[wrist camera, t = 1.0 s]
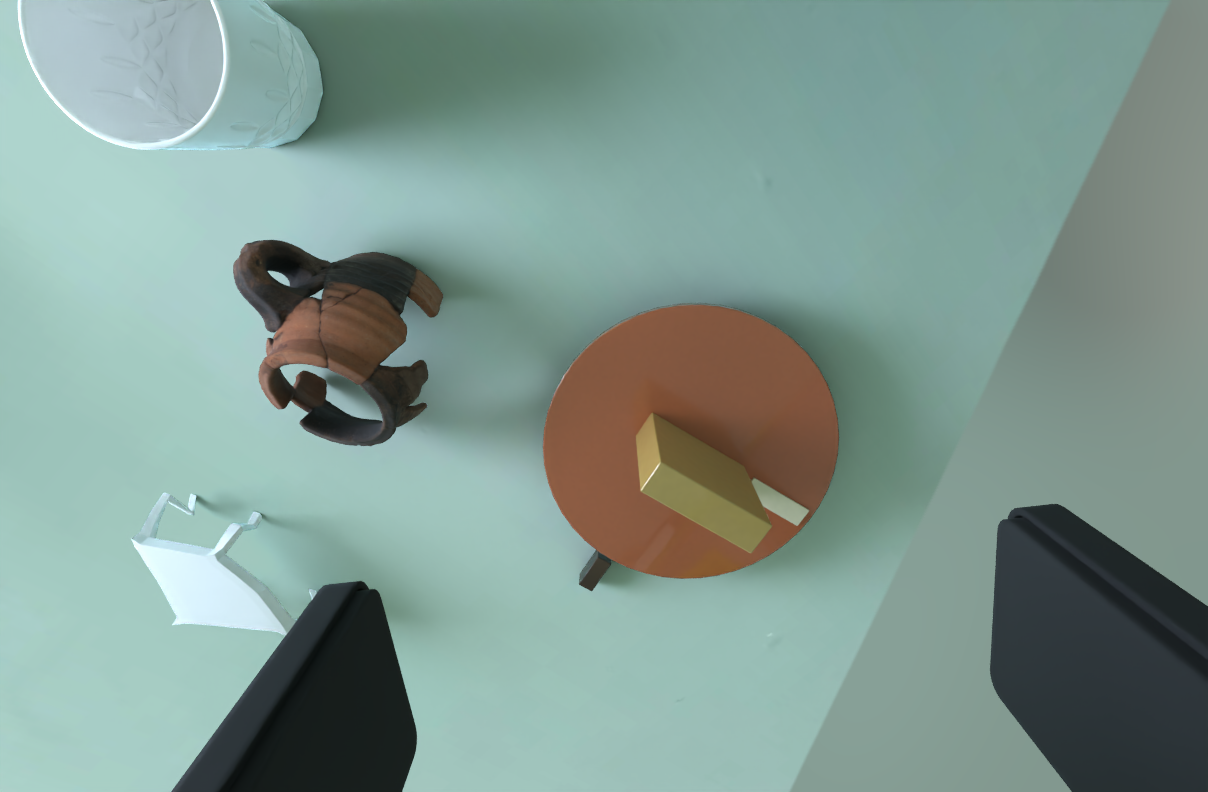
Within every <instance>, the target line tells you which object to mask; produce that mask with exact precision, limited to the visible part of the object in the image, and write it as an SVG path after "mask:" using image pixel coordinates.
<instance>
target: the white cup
mask: <svg viewBox="0 0 1208 792" xmlns="http://www.w3.org/2000/svg"><path fill="white" fill-rule="evenodd" d="M18 18H19V26H20V32H21V37H22V41H23V44H24V48H25V51H26V53H27V56H28V59H29V61H30V63H31V66H32V68H33V70H34V72H35V74H36V76H37V77H38V79H39V81H40V82H41V84H42V86H43V87H44V89H45V90H46V91H47V93H48V94H49V95H50V97H51V98H52V99H53V100H54V102H55V103H56V104H57V105H58V106H59V107H60V108H61V109H62V110H63V111H64V112H65V113H66V114H67V115H68V116H69V117H70V118H71V119H72V120H74V121H75V122H76V123H77V124H79V125H80V126H81V127H83V128H84V129H86V130H87V131H89V132H90V133H92V134H94V135H96V136H98V137H100V138H102V139H104V140H106V141H108V142H111V143H114V144H117V145H120V146H124V147H128V148H134V149H144V150H227V149H247V148H255V147H259V148H272V147H275V146H278V145H281V144H285V143H288V142H291V141H295V140H297V139H298V138H299V137H300V136H301V135H302V134H303V133H304V132H305V131H306V130H307V128H308V127H309V126H310V125H311V124H312V123H313V122H314V121H315V120H316V116H317V113H318V109H319V105H320V102H321V98H322V94H323V86H322V80H321V73H320V67H319V61H318V58H317V56H316V55H315V53H314V51H313V50H312V48H311V46H310V45H309V43H308V41H307V40H306V38H305V36H304V35H303V33H302V31H301V30H300V29H299V28H297V27H296V26H295V25H293V24H292V23H291V22H289V21H288V20H287V19H285V18H284V17H283V16H281V15H280V14H279V13H277V12H276V11H275V10H273V9H271V8H270V7H269V6H268V5H267V4H266V3H265V2H264V1H262V0H18Z"/></svg>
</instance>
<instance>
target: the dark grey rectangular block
mask: <svg viewBox="0 0 1208 792" xmlns="http://www.w3.org/2000/svg"><path fill="white" fill-rule="evenodd" d="M610 565H611V559H610V558H608V557H607V556H605V555H603V554H602V553H600V552H599V551H597V550H596V552H595V553H594V554H593V556H592V557H591V559H590V560H589V562H588V563H587V565H586V566H585V567H584V569H583V570H582V572H581V573H580V579H579V585H581V586H583V587H585V588H587V589H588V590H590V591H592V590H593V589H594V588H595V586H596V585H597V583H598V582H599V581H600V579H601V578H602V576H603V575H604V574H605V572H606V571H607V569H608V568H609V566H610Z"/></svg>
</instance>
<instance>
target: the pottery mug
mask: <svg viewBox="0 0 1208 792" xmlns="http://www.w3.org/2000/svg"><path fill="white" fill-rule="evenodd" d="M267 271H275V272H279V273H282V274H283V275H285V276H286V277H287V278H288V280H289V282H290V287H289V286H286V285H283V284H281V283H280V282H278V281H277V280H275V279H274V278H273V277H272V276H270V274H269V273H268V272H267ZM233 273H234V279H235V283H236V286H237V288H238V290H239V291H240V293H241V294H242V295H243V297H244V298H245V299H246V300H247V301H248V302H249V303H250V304H251V305H252V306H253V307H254V308H255V309H256V310H257V311H258V312H259V314H260V315H261V316H262V318H263V320H264V322H265V326H266V329H267V330H268V331H270V332H276V331H277V332H276V334H275V335H274V337H273V339H272V338H268V339H267V343H266V353H267V357H265V358H264V360H263V362H262V364H261V365H260V370H259V382H260V384H261V387H262V390H263V391H264V393H265V395H266V397H267V398H268V399H269V401H270V402H271V403H272V404H273V405H274V406H275V407H276V408H277V409H284V408H285V407H286V406H287V405H288V403H289V402H290V400H291V401H292V402H293V403H294V404H295V405H297V406H298V407H300V408H302V409H303V410H305V411H306V412H308V414H307V415H306V416H305V417H304V418H303V419H302V420H301V421H300V425H301V426H302V427H303V428H304V429H305V430H306V431H308V432H310V433H312V434H314V435H316V436H319V437H321V438H324V439H327V440H329V441H332V442H337V443H340V444H345V445H354V446H357V445H361V446H372V445H374V444H379V443H383V442H385V441H386V440H388V439H389V438H391V436H392V435H393V434H394V432H395V431H396V427H399V426H402V425H403V424H405V423H407V422H408V421H410V420H412V419H413V418H415V417H416V416H418V415H419V414H420V413H421V412H422V411H423V410H424V409H425V408H426V407H427V404H426V403H423V402H422V403H420V404H418V405H415V406H409V405H410V404H412V403H413V402H414V401H415V399H416V398H417V397H418V396H419V394H420V392H421V388H422V385H423V384H424V383H425V382H426V381H427V379H428V370H427V365H426V363H425V362H424V361H423V360H419V361H417V362H415V363H414V364H413V365H412V366H411V367H407V366H404V367H389V366H381V365H380V363H381V362H382V361H384V360H385V359H386V358H387V357H388V356H389V355H390V354H391V353H393V352H394V351H395V350H396V349H397V348H398V347H399V346H401V345H402V344H403V343H404V342H405V341H406V335H407V326H406V324H405V323H404V321H403V319H402V318H401V317H400V314H401V313H402V312H403V309H404V304H405V301H406V298H407V296H408V297H409V298H410V299H411V300H413V301H414V302H415V303H416V304H417V305H418V306H420V308H421V309H422V310H423V311H424V312H425V313H426V314H427V315H428V316H429V317H435V316H436V315H437V314H438V312H439V310H440V304H441V302H442V299H443V294H442V292H441V291H440V289H439V288H438V286H437V285H436V284H435V283H434V282H433V281H432V280H431V279H430V278H429V277H428V276H427V275H425V274H424V273H422V272H421V271H420V270H418V269H416V267H414V266H413V265H411V264H409V263H407V262H405V261H403V260H401V259H400V258H397V257H394V256H390V255H387V254H384V253H378V252H370V253H361V254H356V255H353V256H351V257H349V258H346V259H343V260H340V261H338V262H333V263H330V262H328V261H325V260H321V259H318V258H316V257H314V256H312V255H311V254H309V253H307V252H305V251H304V250H302V249H300V248H298V247H296V246H294V245H292V244H289V243H287V242H283V241H277V240H263V241H255V242H253V243H247V244H245V245H244V247H243V248H242V249H241V255H240V256H239V258H238V259H237V260H236V261H235V262H234V266H233ZM323 288H324V290H323V294H322V299H321V300H320V299H317V298H313V297H310V296H312V295H314V294H316V293H317V292H318V291H320V290H322V289H323ZM288 364H308V365H314V366H318V367H322V368H328V369H330V370H331V371H333V372H336V373H338V374H340V375H342V376H344V377H346V378H347V379H349V380H351V381H353V382H354V383H356V384H357V385H360V386H361V387H362V388H363V389H364V390H365V391H366V392H367V393H368V394H369V395H370V396H371V397H372V398H373V399H374V401H375V402H376V404H377V405H378V407H379V409H380V411H381V413H382V418H383V422H382V421H380V420H369V419H361V418H356V417H353V416H350V415H349V414H346V413H345V412H343V411H342V410H340V409H339V408H337V407H336V406H334V405H332V404H331V403H330V402H328V401H326V393H327V391H326V387H327V384H326V381H325V380H324V379H323V378H321V377H319V376H317V375H315V374H313V373H310V372H308V371H302V372H300V373H299V374H298V375H297V376H296V382H295V384H294V386H292V385H291V384H290V383H289V382H288V381H287V380H286V378H285V377H284V376H283V374H282V372H281V370H280V369H279V368H280V367H281V366H284V365H288Z"/></svg>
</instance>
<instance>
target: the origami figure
mask: <svg viewBox="0 0 1208 792" xmlns="http://www.w3.org/2000/svg"><path fill="white" fill-rule="evenodd" d="M195 500H196V495H193V494H191V495H190V499H189V505H188V508H187V507H186V506H185V505H183V504H182V503H181V502H179V501H178V500H177V499H175V498H174V497H173V496H171V495H170V494H167V493H165V492H163V494H162V495H161V497H160V498H159V500H158V501H157V503H156V504H155V506H154V507H153V509H152V510H151V511H150V513H149V515H148V517H147V519H146V521H145V523H144V525H143V527H142V529H141V530H140V532H139V533H138V534H137V535H135V536H134V537H133V538H132V541H133V543H134V546H135V548H136V549H137V551H138V552H139V554H140V555H141V557H142V559H143V560H144V562H145V563H146V565H147V566H148V568H149V569H150V571H151V572H152V574H153V575H154V577H155V578H156V580H157V581H158V583H159V584H160V586H161V588H162V590H163V592H164V594H165V596H166V597H167V599H168V601H169V603H170V605H171V607H172V609H173V611H174V612H175V614H176V616H177V618H176V620H175V621H174V623H173V624H172V625H176V624H186V623H189V624H200V625H211V626H221V627H232V628H243V629H254V630H264V631H275V632H278V633H281V634H283V635H285V636H286V635H287V633H288V632H289V631H290V629H291V628H292V626H293V625H294V624H295V622H296V621H297V620H298V619H294V618H292V617H291V616H290V615H289V613H288V612H287V611H286V610H285V608H284V607H283V606H282V605H281V603H280V602H279V601H278V600H277V598H276V597H275V596H274V595H273V593H272V592H271V591H270V589H269V588H268V587H267V586H265V585H264V584H263V583H262V582H260V581H259V580H258V579H257V578H256V577H254V576H253V575H252V574H251V573H249V572H248V571H247V570H245V569H244V568H243V567H241V566H240V565H239V564H238V563H236V562H235V561H234V560H232V559H231V558H230V557H228V556H227V555H226V553H227V551H228V550H229V549H230V548H231V546H232V545H233V544H234V542H235V541H236V540H237V538H238V537H239V536H240V535H241V533H242V532H243V531H246V530H251V529H255V528H257V526H258V524H259V522H260V521H261V519H262V516H261V514H260V513H257V512H254V511H253V513H252V515H251V517H250V519H249V521H248V523H247V524H246V523H231V524H230V526H229V527H228V529H227V530H226V532H225V533H224V535H223V536H222V538H221V539H220V541H219V542H218V544H217V546H216V547H215V549H211V548H205V547H200V546H194V545H189V544H184V543H178V542H173V541H167V540H162V539H156V534H157V530H158V525H159V522H160V519H161V517H162V514H163V512H164V509H165V507H166V505H167V502H168V503H170V504H172V505H173V506H175V507H177V508H178V509H180V510H182V511H183V512H185V513H187V514H189V515H194V512H195ZM309 592H310V596H311V599H313V598H314V596H315V595H316V594H317V591H316V590H313V589H309Z"/></svg>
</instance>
